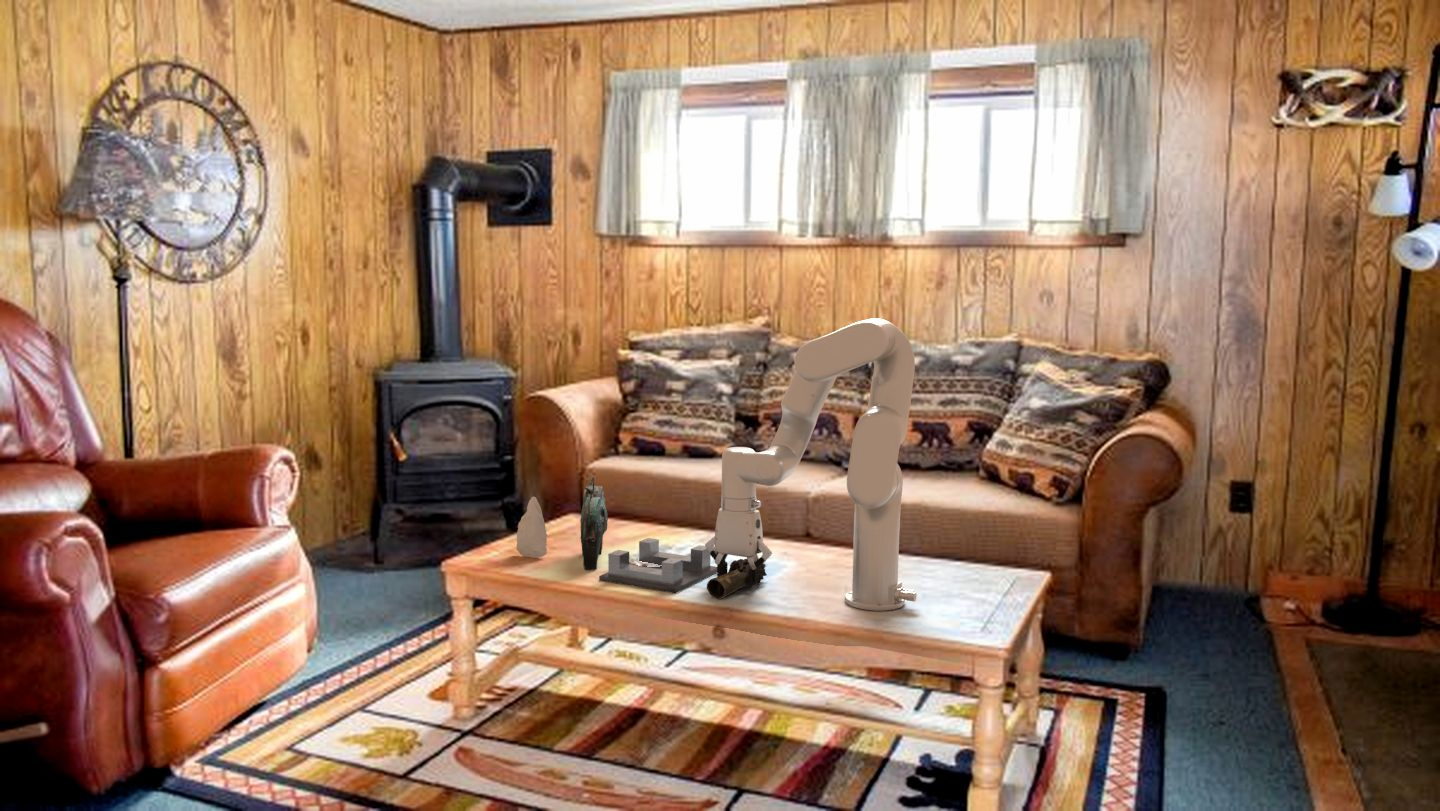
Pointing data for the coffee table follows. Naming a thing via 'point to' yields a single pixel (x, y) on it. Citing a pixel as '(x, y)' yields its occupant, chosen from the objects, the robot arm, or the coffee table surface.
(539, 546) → the stone tool
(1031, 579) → the coffee table surface
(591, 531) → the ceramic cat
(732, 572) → the metal pipe
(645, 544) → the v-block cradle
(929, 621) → the coffee table surface
